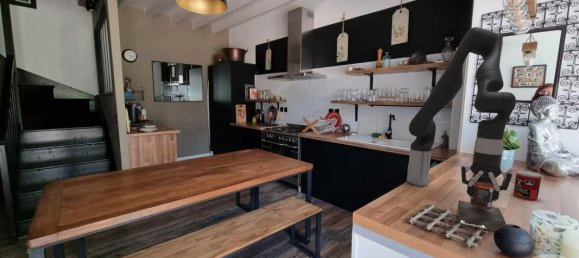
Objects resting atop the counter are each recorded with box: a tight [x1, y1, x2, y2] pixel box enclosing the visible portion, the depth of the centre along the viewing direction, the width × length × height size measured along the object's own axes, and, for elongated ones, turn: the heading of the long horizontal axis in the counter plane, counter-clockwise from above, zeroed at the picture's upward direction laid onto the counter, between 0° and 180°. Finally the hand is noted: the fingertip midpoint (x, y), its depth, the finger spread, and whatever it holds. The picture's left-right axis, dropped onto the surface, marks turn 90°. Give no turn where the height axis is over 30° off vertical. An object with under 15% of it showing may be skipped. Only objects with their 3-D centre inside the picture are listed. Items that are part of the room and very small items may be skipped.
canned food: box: [513, 170, 542, 201], centre depth 108 cm, size 8×8×11 cm
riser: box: [457, 200, 507, 233], centre depth 86 cm, size 12×12×4 cm
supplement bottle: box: [470, 176, 494, 209], centre depth 85 cm, size 6×6×11 cm
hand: (481, 197), depth 86 cm, fingers closed on supplement bottle, 6 cm apart
